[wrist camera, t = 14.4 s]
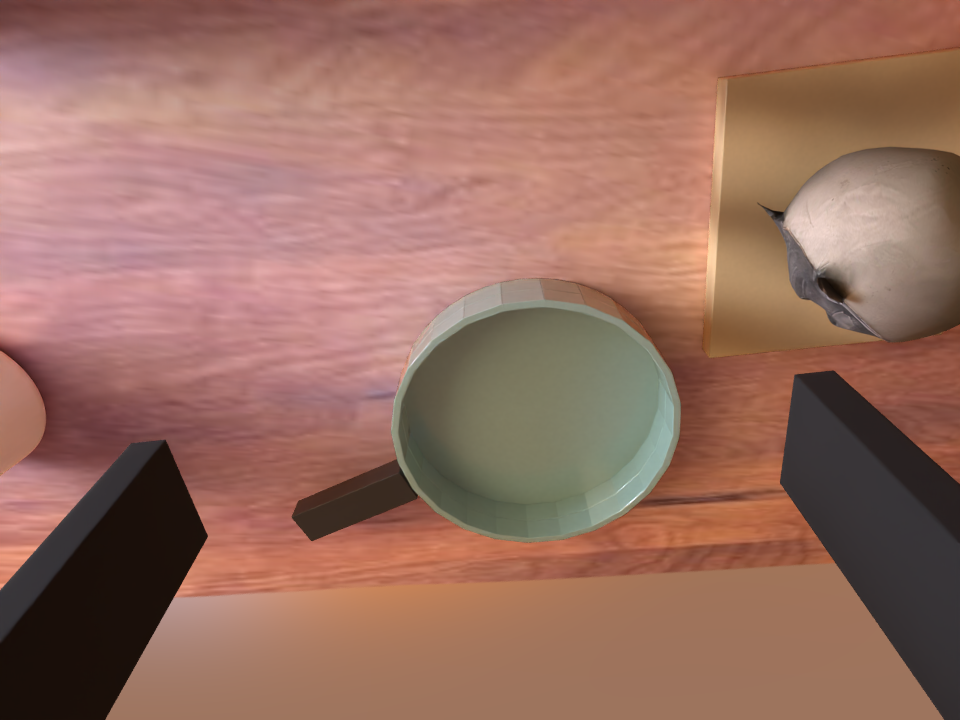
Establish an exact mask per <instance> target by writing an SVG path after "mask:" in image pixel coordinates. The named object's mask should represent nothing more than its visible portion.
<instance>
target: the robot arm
mask: <svg viewBox="0 0 960 720" xmlns="http://www.w3.org/2000/svg"><path fill="white" fill-rule="evenodd" d="M780 484H781V485H782V486H783V488H784V489H785V491H786V492H787V494H788V495H789V497H790V498H791V499H792V501H793V502H794V504H795V505H796V507H797V508H798V510H799V511H800V512H801V514H802V515H803V517H804V518H805V520H806V521H807V522H808V524H809V525H810V527H811V528H812V530H813V531H814V533H815V534H816V535H817V537H818V538H819V540H820V541H821V543H822V544H823V546H824V547H825V548H826V550H827V551H828V553H829V554H830V556H831V557H832V559H833V560H834V561H835V563H836V564H837V566H838V567H839V569H840V570H841V571H842V573H843V574H844V576H845V577H846V578H847V580H848V582H849V583H850V584H851V586H852V587H853V589H854V590H855V592H856V593H857V595H858V596H859V597H860V599H861V600H862V602H863V603H864V604H865V606H866V607H867V609H868V610H869V612H870V613H871V615H872V616H873V617H874V619H875V620H876V622H877V623H878V625H879V626H880V628H881V629H882V630H883V632H884V633H885V635H886V636H887V638H888V639H889V641H890V642H891V643H892V645H893V646H894V648H895V649H896V651H897V652H898V653H899V655H900V656H901V658H902V659H903V661H904V662H905V663H906V665H907V666H908V668H909V669H910V671H911V672H912V674H913V675H914V677H915V678H916V679H917V681H918V682H919V684H920V685H921V687H922V688H923V690H924V691H925V692H926V694H927V695H928V697H929V698H930V700H931V701H932V702H933V704H934V705H935V707H936V708H937V710H938V711H939V713H940V714H941V715H942V717H943V718H944V720H960V484H959V483H958V482H957V481H955V480H954V479H953V478H952V477H951V476H950V475H949V474H948V473H947V472H945V471H944V470H943V469H942V468H941V467H940V466H939V465H938V464H937V463H936V462H934V461H933V460H932V459H931V458H930V457H929V456H928V455H927V454H926V453H924V452H923V451H922V450H921V449H920V448H919V447H918V446H917V445H916V444H914V443H913V442H912V441H911V440H910V439H909V438H908V437H907V436H906V435H905V434H903V433H902V432H901V431H900V430H899V429H898V428H897V427H896V426H895V425H893V424H892V423H891V422H890V421H889V420H888V419H887V418H886V417H885V416H883V415H882V414H881V413H880V412H879V411H878V410H877V409H876V408H875V407H874V406H872V405H871V404H870V403H869V402H868V401H867V400H866V399H865V398H864V397H862V396H861V395H860V394H859V393H858V392H857V391H856V390H855V389H854V388H852V387H851V386H850V385H849V384H848V383H847V382H846V381H845V380H844V379H843V378H841V377H840V376H839V375H838V374H837V373H836V372H835V371H825V372H815V373H805V374H796V375H795V376H794V383H793V390H792V398H791V405H790V412H789V420H788V427H787V435H786V442H785V449H784V457H783V464H782V471H781V479H780ZM207 537H208V535H207V533H206V531H205V528H204V526H203V524H202V522H201V519H200V517H199V515H198V512H197V510H196V508H195V506H194V503H193V501H192V499H191V496H190V494H189V492H188V490H187V487H186V485H185V483H184V480H183V478H182V476H181V474H180V471H179V469H178V467H177V464H176V462H175V460H174V458H173V455H172V453H171V451H170V449H169V446H168V444H167V442H166V440H158V441H149V442H139V443H131V444H130V445H129V446H128V447H127V449H126V450H125V451H124V452H123V453H122V454H121V455H120V456H119V458H118V459H117V460H116V461H115V462H114V463H113V464H112V465H111V467H110V468H109V469H108V470H107V471H106V472H105V473H104V474H103V476H102V477H101V478H100V479H99V480H98V481H97V482H96V483H95V484H94V486H93V487H92V488H91V489H90V490H89V491H88V492H87V493H86V495H85V496H84V497H83V498H82V499H81V500H80V501H79V502H78V504H77V505H76V506H75V507H74V508H73V509H72V510H71V511H70V513H69V514H68V515H67V516H66V517H65V518H64V519H63V520H62V522H61V523H60V524H59V525H58V526H57V527H56V528H55V529H54V530H53V532H52V533H51V534H50V535H49V536H48V537H47V538H46V539H45V541H44V542H43V543H42V544H41V545H40V546H39V547H38V548H37V550H36V551H35V552H34V553H33V554H32V555H31V556H30V557H29V559H28V560H27V561H26V562H25V563H24V564H23V565H22V566H21V568H20V569H19V570H18V571H17V572H16V573H15V574H14V575H13V576H12V578H11V579H10V580H9V581H8V582H7V583H6V584H5V585H4V587H3V588H2V589H1V590H0V720H105V719H106V717H107V715H108V713H109V712H110V710H111V708H112V706H113V705H114V703H115V701H116V699H117V698H118V696H119V694H120V692H121V690H122V689H123V687H124V685H125V683H126V682H127V680H128V678H129V676H130V674H131V673H132V671H133V669H134V667H135V666H136V664H137V662H138V660H139V658H140V657H141V655H142V653H143V651H144V649H145V648H146V646H147V644H148V642H149V640H150V639H151V637H152V635H153V634H154V632H155V630H156V628H157V626H158V625H159V623H160V621H161V619H162V617H163V616H164V614H165V612H166V610H167V608H168V607H169V605H170V603H171V601H172V600H173V598H174V596H175V594H176V593H177V591H178V589H179V587H180V585H181V584H182V582H183V580H184V578H185V577H186V575H187V573H188V571H189V569H190V568H191V566H192V564H193V562H194V561H195V559H196V557H197V555H198V553H199V552H200V550H201V548H202V546H203V545H204V543H205V541H206V539H207Z"/></svg>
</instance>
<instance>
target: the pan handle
mask: <svg viewBox="0 0 960 720" xmlns="http://www.w3.org/2000/svg"><path fill="white" fill-rule="evenodd" d="M417 498H418V494H417V493H416V492H415V491H414V490H413V489H412V487H411V485H410V483H409V482H408V480H407V478H406V476H405V475H404V473H403V471H402V469H401V468H400V466H399V464H398V461H397V460H394V461H392V462H389V463H387V464H385V465H382V466H380V467H378V468H375V469H373V470H371V471H368V472H366V473H363V474H361V475H359V476H356V477H354V478H352V479H349V480H347V481H344V482H342V483H340V484H337V485H335V486H333V487H330V488H328V489H325V490H323V491H321V492H318V493H316V494H314V495H311V496H309V497H307V498H304V499H302V500H299V501H298V503H297V505H296V508H295V510H294V512H293V515H292V519H293V520H294V521H295V522H296V523H297V525H298V526H299V527H300V528H301V529H302V530H303V532H304V533H305V534H306V535H307V536H308V538H309V539H310V540H311V541H314V540H316V539H318V538H321V537H323V536H326V535H328V534H331V533H333V532H336V531H338V530H341V529H343V528H346V527H348V526H351V525H353V524H356V523H358V522H361V521H363V520H366V519H368V518H371V517H373V516H376V515H378V514H381V513H383V512H385V511H388V510H390V509H393V508H395V507H398V506H400V505H403V504H405V503H408V502H410V501H413V500H415V499H417Z"/></svg>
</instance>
